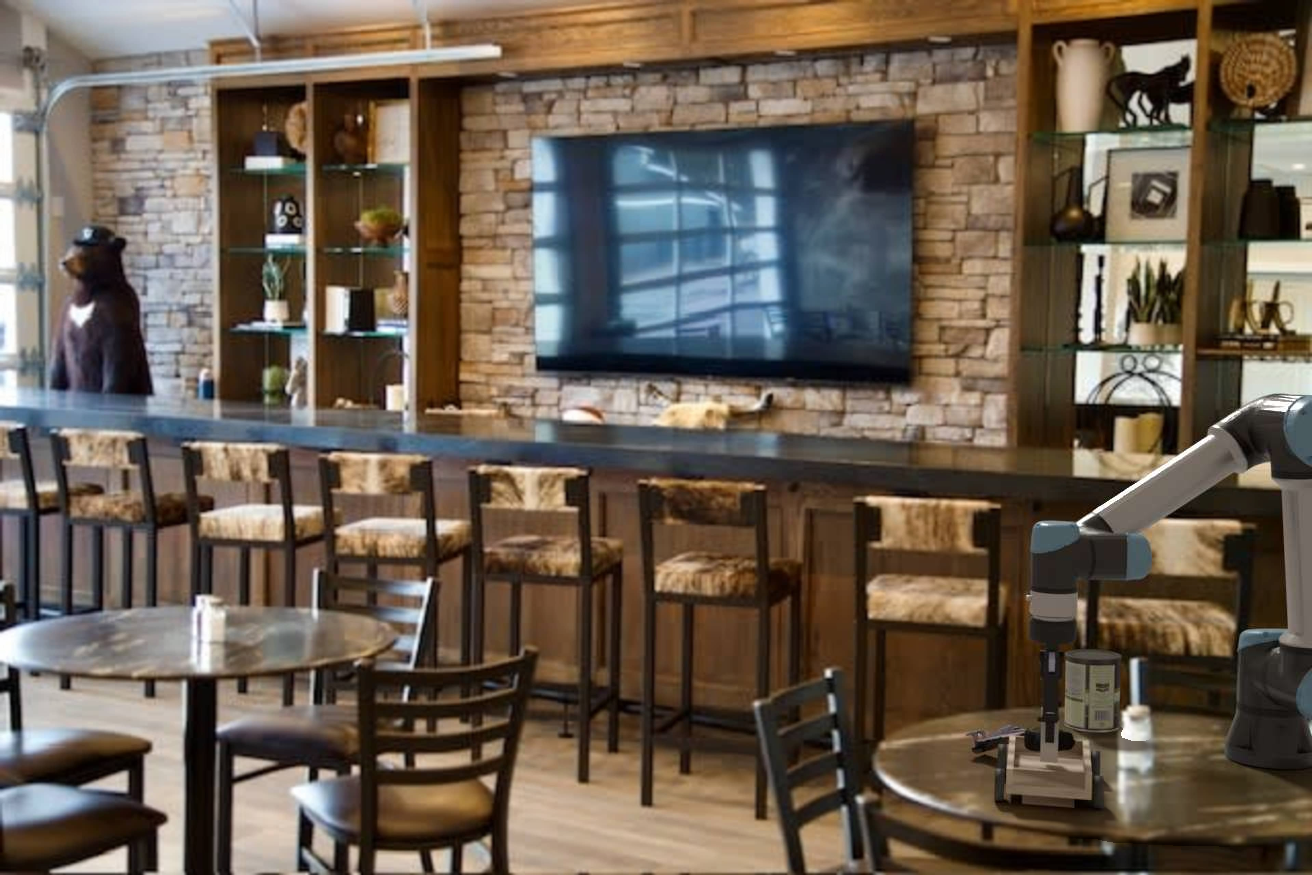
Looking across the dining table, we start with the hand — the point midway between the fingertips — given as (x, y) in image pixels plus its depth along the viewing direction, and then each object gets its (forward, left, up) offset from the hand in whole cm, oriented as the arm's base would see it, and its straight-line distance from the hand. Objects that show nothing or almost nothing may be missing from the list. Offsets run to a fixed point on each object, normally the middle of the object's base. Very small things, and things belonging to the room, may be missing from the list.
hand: (1048, 753), depth 264 cm
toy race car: (+9, -18, -7) cm, 21 cm away
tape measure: (0, +3, 0) cm, 3 cm away
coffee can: (-8, -46, -6) cm, 47 cm away
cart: (0, 0, -6) cm, 6 cm away
